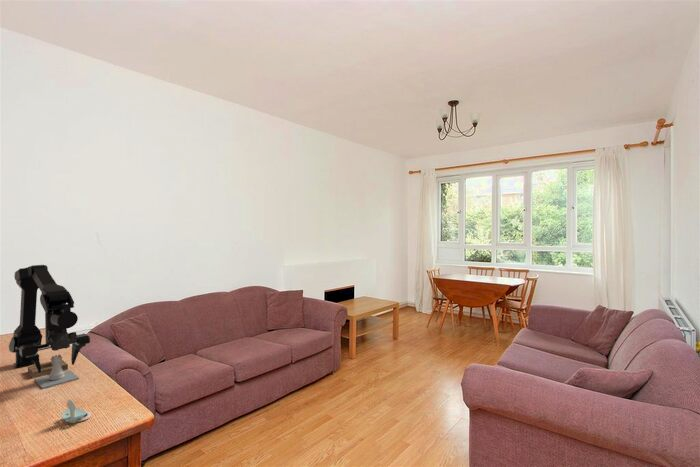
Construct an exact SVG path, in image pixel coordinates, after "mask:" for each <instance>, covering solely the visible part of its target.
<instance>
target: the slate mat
mask: <svg viewBox="0 0 700 467" xmlns="http://www.w3.org/2000/svg"><path fill="white" fill-rule="evenodd" d="M64 375H65V376H64V377H63V378H61V379H58V380H49V378H50V377H49V375H44V376H40V377H36V378H34V381H35V382H36V384H37V385H38V386H39V387H40V389H41V390H44V389H49V388H52V387H54V386H55V387H56V386H58V385H62V384H66V383H69V382H73V381H74V382H75V381H77V380H80V377H79V376H78V375H77V374H75V373H74V372H73V371H72V370H71V369H68V370H64Z"/></svg>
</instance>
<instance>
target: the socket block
mask: <svg viewBox="0 0 700 467" xmlns="http://www.w3.org/2000/svg"><path fill="white" fill-rule="evenodd" d="M40 366H41V373H39V372H38V370H37V368H36V366H35V364H32V365H28V366H27V373H28V375H30V376H31V378H32V379H37V378H41V377H45V376H49V375H50V372H51V371H52V361H51V360H50V361H46V362H43V363H42V362H41V363H40ZM61 367H62V370H63V371H68V370H69V365H68V363H67V362H66V361H64V360H63V358H62V359H61Z"/></svg>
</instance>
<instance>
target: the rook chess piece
mask: <svg viewBox="0 0 700 467" xmlns="http://www.w3.org/2000/svg"><path fill="white" fill-rule="evenodd" d="M61 359H62V360H63V356H62V354H54V355H52V356H51V359H50V361H52V371H51V372H50V374H48V376H49V377H50V378H49V380H58V379H61V378H63V377H64V376H65V375H64V371H65V370H64V371H63V370H62V367H61Z"/></svg>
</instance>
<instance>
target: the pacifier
mask: <svg viewBox="0 0 700 467" xmlns="http://www.w3.org/2000/svg"><path fill="white" fill-rule="evenodd" d="M66 406H67V408H68V409H65V410H64V411H63V412H62V414H61V418H62V420H63V421H65V423H70V424H76V423H77V422H84V421H87V420H88V419H89V418H91V416H92V413H91V412H90V411H87V410H86V411H85V410H84V409H81V408H78V407H76V404H75V401H74V400H73V399H72V398H69V399H68V400H67V402H66Z"/></svg>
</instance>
